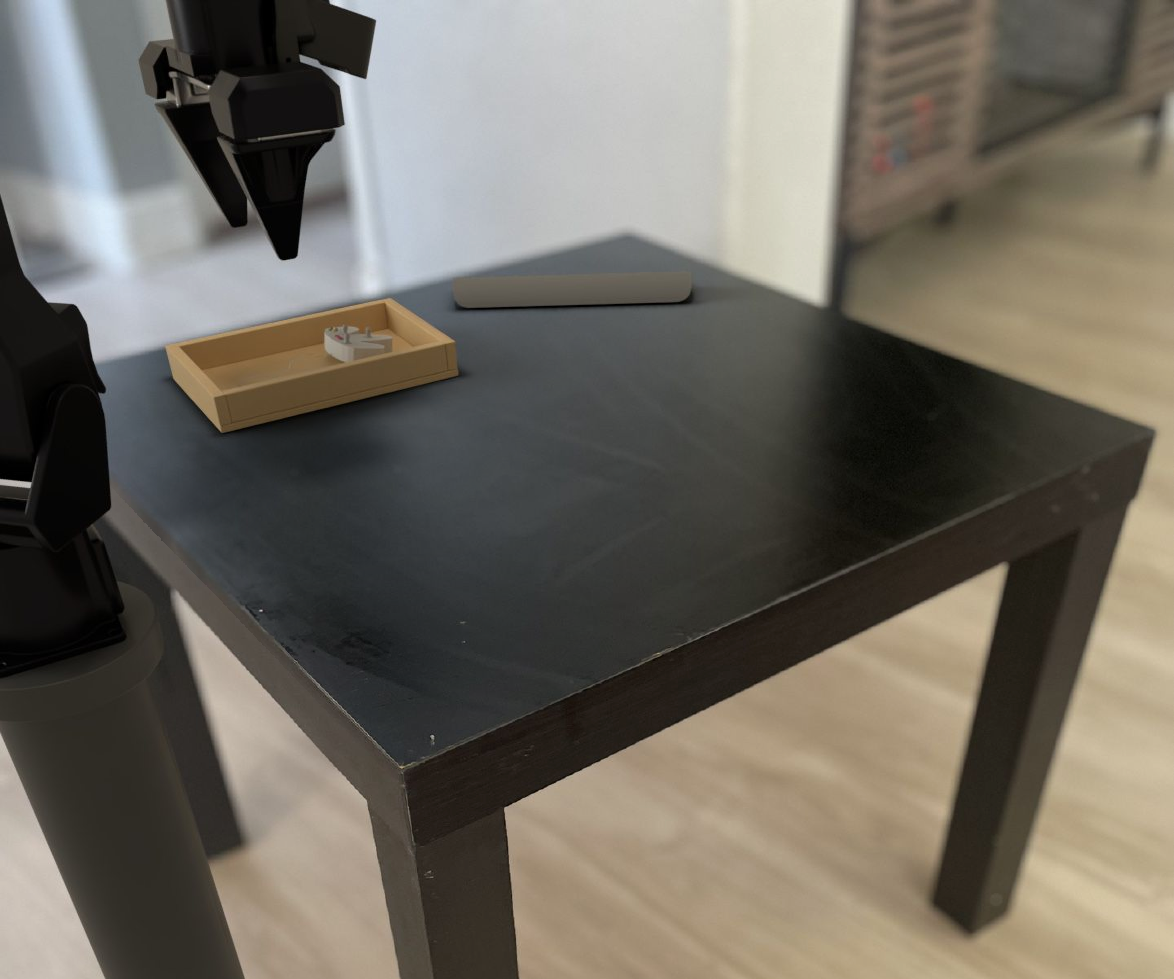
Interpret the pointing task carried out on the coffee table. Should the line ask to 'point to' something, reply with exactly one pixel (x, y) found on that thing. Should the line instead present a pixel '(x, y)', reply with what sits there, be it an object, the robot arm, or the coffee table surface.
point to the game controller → (353, 344)
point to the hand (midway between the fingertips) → (262, 242)
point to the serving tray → (306, 364)
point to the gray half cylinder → (572, 289)
